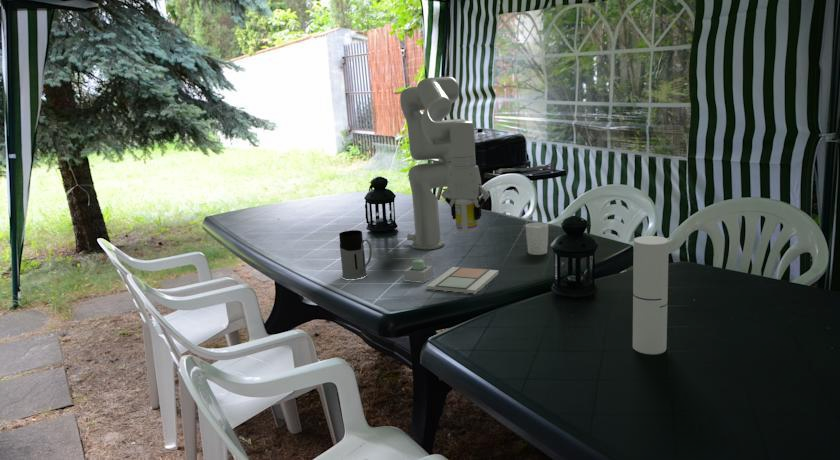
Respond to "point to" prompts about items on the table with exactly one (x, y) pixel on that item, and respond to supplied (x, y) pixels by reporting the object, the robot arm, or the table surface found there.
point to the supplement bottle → (465, 215)
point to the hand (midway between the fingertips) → (466, 218)
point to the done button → (418, 265)
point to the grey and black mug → (353, 254)
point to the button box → (418, 274)
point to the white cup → (537, 238)
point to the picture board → (463, 279)
